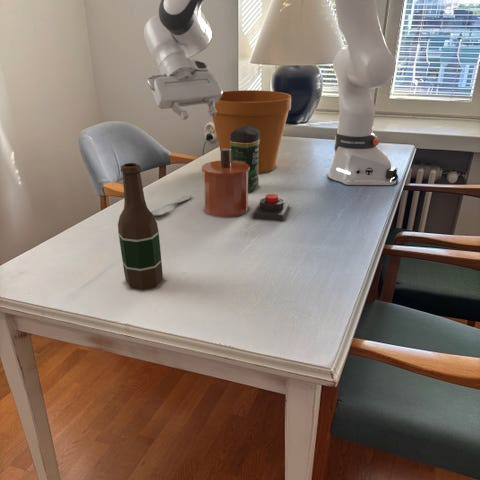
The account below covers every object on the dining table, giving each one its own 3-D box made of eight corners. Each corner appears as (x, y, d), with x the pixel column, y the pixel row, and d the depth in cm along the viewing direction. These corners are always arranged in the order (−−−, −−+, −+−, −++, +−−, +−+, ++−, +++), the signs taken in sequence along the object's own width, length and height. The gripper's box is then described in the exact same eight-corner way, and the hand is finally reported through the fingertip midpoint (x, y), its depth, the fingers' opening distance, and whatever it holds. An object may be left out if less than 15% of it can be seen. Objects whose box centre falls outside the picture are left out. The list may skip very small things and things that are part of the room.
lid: (253, 166, 135) (254, 145, 132) (243, 179, 125) (244, 156, 122) (209, 163, 138) (208, 142, 135) (195, 176, 127) (194, 154, 124)
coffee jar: (249, 194, 148) (250, 131, 138) (226, 191, 151) (225, 128, 141) (262, 186, 156) (263, 125, 146) (240, 183, 159) (240, 123, 149)
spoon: (144, 218, 131) (143, 212, 130) (183, 196, 147) (182, 191, 146) (156, 220, 130) (156, 215, 129) (194, 198, 146) (194, 192, 145)
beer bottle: (127, 274, 103) (111, 159, 91) (164, 272, 104) (153, 158, 91) (123, 291, 97) (105, 171, 84) (162, 290, 97) (150, 170, 85)
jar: (251, 204, 141) (251, 164, 135) (242, 218, 131) (242, 176, 125) (211, 201, 143) (210, 162, 137) (200, 215, 133) (198, 173, 127)
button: (266, 199, 135) (266, 193, 134) (279, 200, 134) (279, 194, 133) (264, 204, 132) (264, 197, 131) (277, 204, 131) (277, 198, 130)
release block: (261, 205, 140) (261, 193, 138) (288, 207, 138) (289, 195, 137) (253, 218, 131) (253, 206, 129) (282, 221, 129) (283, 208, 128)
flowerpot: (202, 175, 166) (199, 101, 153) (219, 155, 189) (218, 89, 177) (283, 179, 162) (287, 103, 149) (291, 158, 185) (294, 91, 172)
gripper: (148, 67, 125) (171, 113, 124) (212, 62, 136) (233, 104, 135) (141, 84, 131) (163, 128, 129) (203, 79, 141) (224, 119, 140)
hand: (199, 116), depth 132 cm, fingers open, 8 cm apart
